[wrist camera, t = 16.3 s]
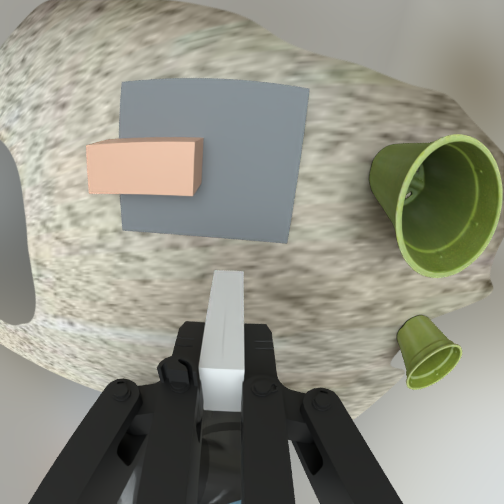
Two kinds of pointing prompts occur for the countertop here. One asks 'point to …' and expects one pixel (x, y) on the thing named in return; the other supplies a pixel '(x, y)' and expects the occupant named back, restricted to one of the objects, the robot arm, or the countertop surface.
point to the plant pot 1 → (439, 201)
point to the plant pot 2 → (426, 352)
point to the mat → (220, 155)
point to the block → (145, 166)
